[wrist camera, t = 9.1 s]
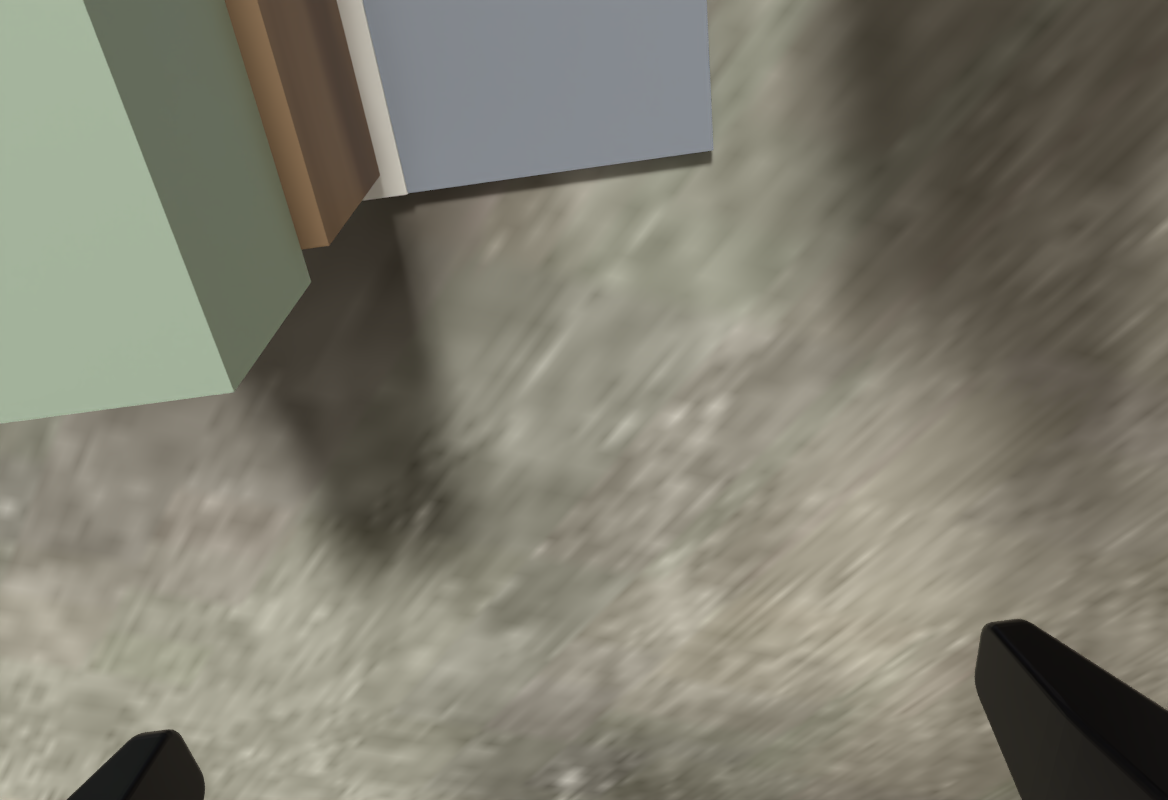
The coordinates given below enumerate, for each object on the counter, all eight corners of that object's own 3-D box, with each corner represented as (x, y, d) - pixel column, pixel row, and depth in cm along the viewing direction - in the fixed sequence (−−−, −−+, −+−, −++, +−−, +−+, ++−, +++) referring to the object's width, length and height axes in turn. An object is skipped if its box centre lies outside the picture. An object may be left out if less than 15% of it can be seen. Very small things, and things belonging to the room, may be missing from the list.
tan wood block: (315, -84, 15) (227, -101, 11) (380, 175, 18) (329, 245, 13) (62, -47, 15) (-125, -48, 11) (160, 206, 18) (39, 286, 14)
